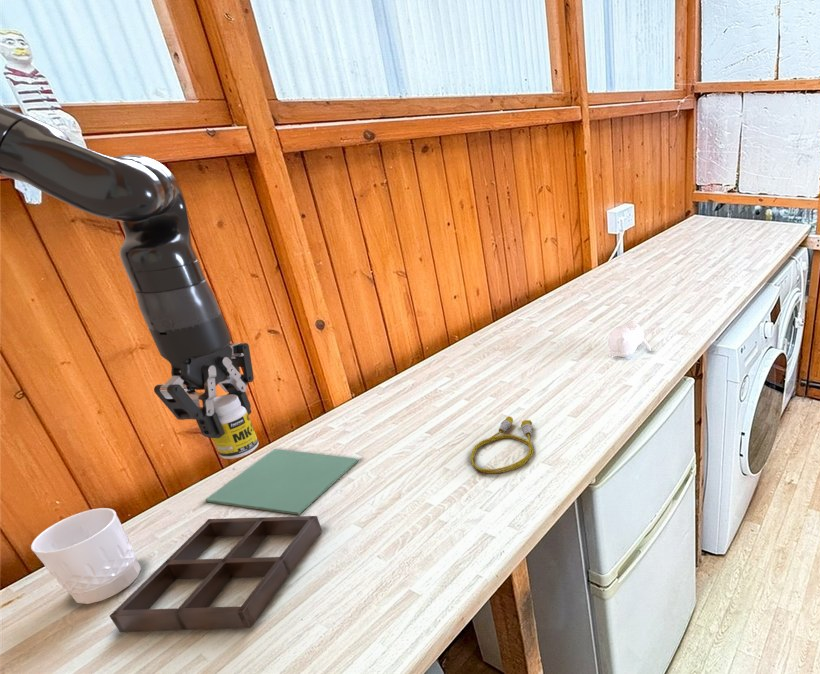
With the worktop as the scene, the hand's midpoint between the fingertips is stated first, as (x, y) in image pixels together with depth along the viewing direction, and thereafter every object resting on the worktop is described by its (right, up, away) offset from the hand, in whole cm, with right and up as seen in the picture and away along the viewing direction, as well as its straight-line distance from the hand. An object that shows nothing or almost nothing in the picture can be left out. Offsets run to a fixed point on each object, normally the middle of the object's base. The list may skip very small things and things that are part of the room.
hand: (229, 425), depth 75 cm
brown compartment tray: (+2, -21, -2) cm, 21 cm away
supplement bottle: (0, -4, +2) cm, 5 cm away
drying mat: (-3, -13, +17) cm, 21 cm away
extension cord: (+34, -9, +24) cm, 42 cm away
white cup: (-15, -22, -3) cm, 26 cm away
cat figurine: (+56, +8, +61) cm, 83 cm away
